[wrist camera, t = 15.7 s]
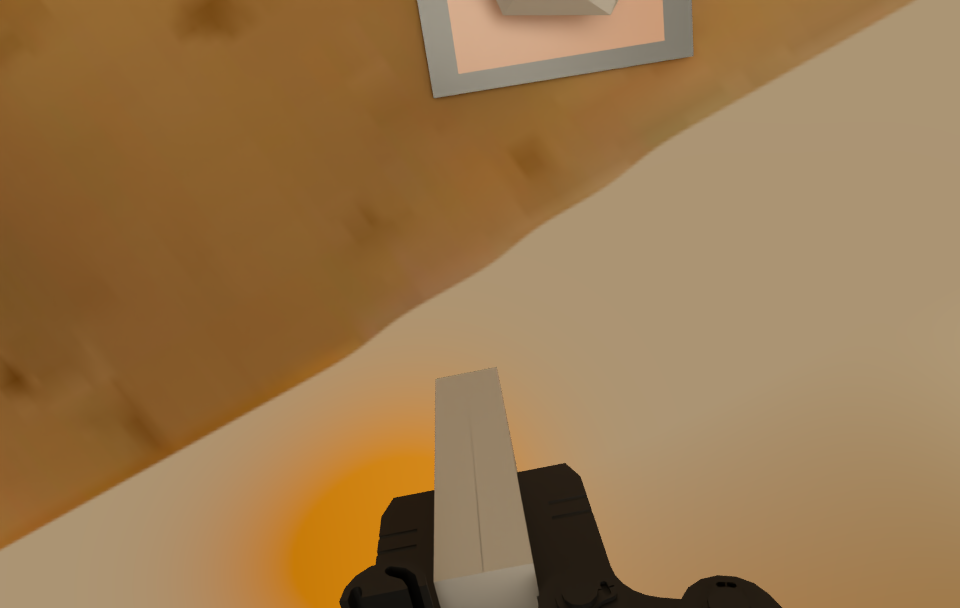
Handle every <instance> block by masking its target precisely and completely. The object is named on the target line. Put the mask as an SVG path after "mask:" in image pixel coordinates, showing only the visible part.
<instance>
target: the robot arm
mask: <svg viewBox="0 0 960 608" xmlns="http://www.w3.org/2000/svg"><path fill="white" fill-rule="evenodd" d="M435 396H436V397H435V490H432V491H427V492H422V493H417V494H412V495H407V496H402V497H396V498H393V500H392V501H391V503H390V505H389V506H388V508H387V509H386V511H385V512H384V514H383V515H382V518H381V526H380V534H379V537H380V540H379V542H378V550H377V553H378V556H377V558H376V565H374V566H371V567H369V568H367V569H366V570H364V571H363V572H361V573H360V574H358V575H357V576H355V577H354V579H353V580H352V581H351V582H350V583H349V584H348V585H347V586H346V588H345V589H344V591H343V594H342V597H341V599H340V601H339V602H340V605H341V608H782V607H781V606H780V605H779V604H778V603H777V602H776V601H775V600H774V599H773V598H772V597H771V596H770V595H769V594H768V593H767V592H765V591H764V590H763V589H761V588H760V587H758V586H757V585H756V584H754V583H752V582H749V581H746V580H744V579H741V578H738V577H732V576H718V575H717V576H713V577H709V578H704V579H700V580H699V581H697V582H696V583H695V584H693V585H691V586H690V587H688V589H687V590H686V592H685V594H684V596H683V597H682V599H670V598H660V597H654V596H648V595H644V594H642V593H639V592H636V591H634V590H632V589H631V588H629V587H628V586H626V585H624V584H623V583H622V582H621V581H620V580H619V579H618V578H617V577H616V576H615V574H614V572H613V570H612V568H611V566H610V563H609V560H608V557H607V554H606V551H605V548H604V545H603V543H602V539H601V536H600V533H599V531H598V527H597V524H596V521H595V519H594V516H593V513H592V511H591V507H590V504H589V501H588V498H587V495H586V492H585V489H584V486H583V483H582V480H581V477H580V476H579V475H578V474H577V473H576V472H575V471H574V470H572V469H571V468H570V467H569V466H568V465H566V463H563V464H558V465H553V466H548V467H543V468H537V469H533V470H528V471H522V472H517V467H516V462H515V457H514V452H513V447H512V442H511V437H510V432H509V427H508V422H507V417H506V412H505V407H504V402H503V397H502V391H501V387H500V382H499V376H498V372H497V367H495V368H489V369H484V370H480V371H474V372H469V373H464V374H458V375H454V376H448V377H443V378H438V379H436V393H435Z"/></svg>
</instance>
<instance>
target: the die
mask: <svg viewBox="0 0 960 608" xmlns="http://www.w3.org/2000/svg"><path fill="white" fill-rule="evenodd" d="M496 1H497V3H498V5H499V7H500V10H501V12H502V14H503V15H611V13H612V12H613V10H614V8H615V6H616V4H617V2H618V0H496Z"/></svg>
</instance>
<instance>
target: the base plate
mask: <svg viewBox="0 0 960 608" xmlns="http://www.w3.org/2000/svg"><path fill="white" fill-rule="evenodd" d="M417 2H418V8H419V14H420V20H421V26H422V32H423V37H424V43H425V49H426V55H427V61H428V67H429V73H430V79H431V85H432V91H433V97H434V98H438V97H444V96H450V95H456V94H462V93H469V92H475V91H481V90H487V89H493V88H499V87H506V86H512V85H518V84H524V83H530V82H536V81H543V80H549V79H555V78H561V77H567V76H573V75H580V74H586V73H592V72H598V71H604V70H610V69H617V68H623V67H629V66H635V65H641V64H647V63H654V62H660V61H666V60H672V59H678V58H684V57H691V56H693V29H692V0H618V2H617V4H616V6H615V8H614V10H613V12H612V13H611V15H503V14H502V12H501V10H500V7H499V5H498V3H497V1H496V0H417Z"/></svg>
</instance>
